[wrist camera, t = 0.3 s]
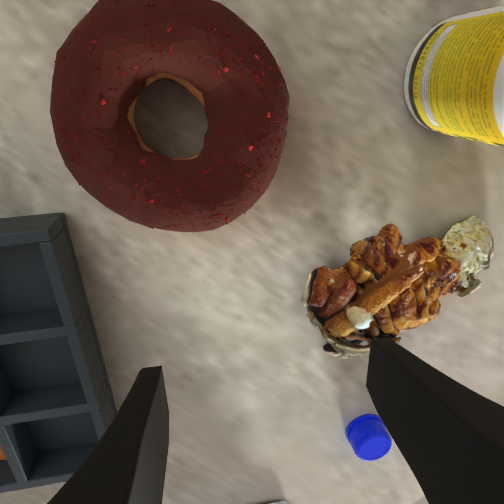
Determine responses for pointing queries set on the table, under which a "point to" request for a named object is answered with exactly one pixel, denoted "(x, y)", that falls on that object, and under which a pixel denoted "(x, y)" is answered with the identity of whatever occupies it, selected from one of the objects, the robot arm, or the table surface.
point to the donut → (191, 77)
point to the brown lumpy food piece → (394, 284)
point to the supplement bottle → (460, 77)
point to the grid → (46, 357)
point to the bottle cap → (369, 437)
